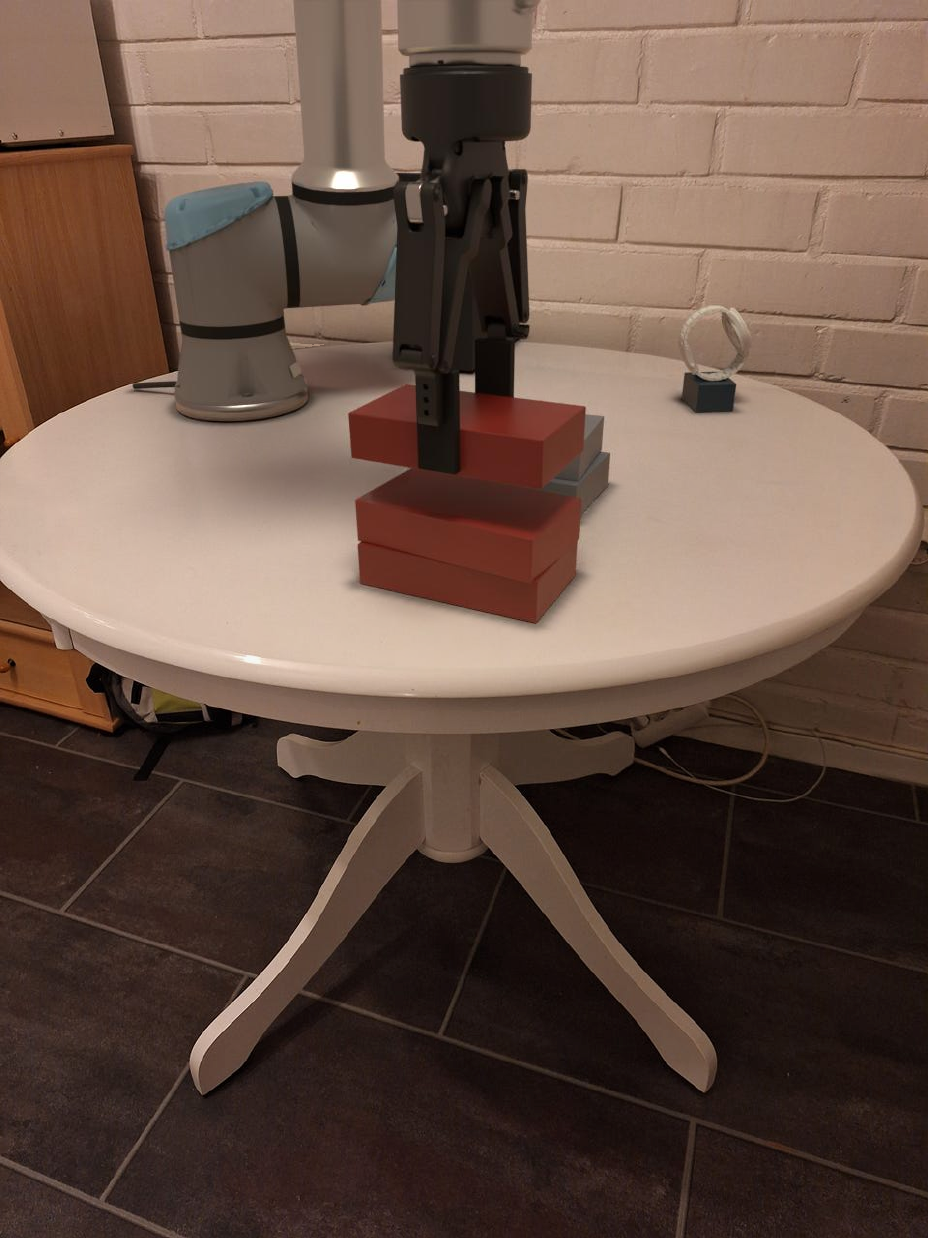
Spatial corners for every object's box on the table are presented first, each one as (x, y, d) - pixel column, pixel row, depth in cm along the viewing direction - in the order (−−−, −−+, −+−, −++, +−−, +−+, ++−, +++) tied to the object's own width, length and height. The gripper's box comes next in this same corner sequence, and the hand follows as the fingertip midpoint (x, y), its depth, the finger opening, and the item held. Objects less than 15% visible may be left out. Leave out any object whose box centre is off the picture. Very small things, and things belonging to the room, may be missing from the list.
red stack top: (357, 540, 66) (354, 499, 64) (416, 503, 72) (415, 465, 70) (530, 583, 60) (532, 539, 58) (579, 539, 66) (581, 498, 64)
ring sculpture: (749, 410, 104) (764, 310, 98) (680, 412, 103) (691, 312, 98) (732, 397, 108) (746, 301, 103) (666, 398, 108) (676, 302, 103)
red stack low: (359, 583, 67) (357, 544, 65) (411, 542, 73) (410, 505, 72) (536, 623, 62) (537, 581, 60) (576, 575, 68) (578, 536, 66)
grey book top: (424, 462, 80) (423, 427, 79) (458, 433, 87) (458, 401, 85) (578, 481, 76) (580, 444, 74) (602, 450, 83) (604, 415, 81)
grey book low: (418, 493, 82) (417, 459, 81) (461, 462, 89) (461, 430, 88) (574, 521, 77) (576, 485, 75) (607, 485, 84) (610, 452, 82)
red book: (350, 458, 62) (347, 412, 61) (407, 425, 68) (405, 383, 67) (541, 489, 57) (543, 440, 55) (583, 451, 63) (586, 405, 62)
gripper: (441, 52, 42) (449, 512, 53) (589, 66, 58) (571, 415, 69) (304, 56, 45) (339, 492, 56) (482, 68, 61) (482, 403, 72)
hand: (468, 449), depth 62 cm, fingers closed on red book, 8 cm apart
